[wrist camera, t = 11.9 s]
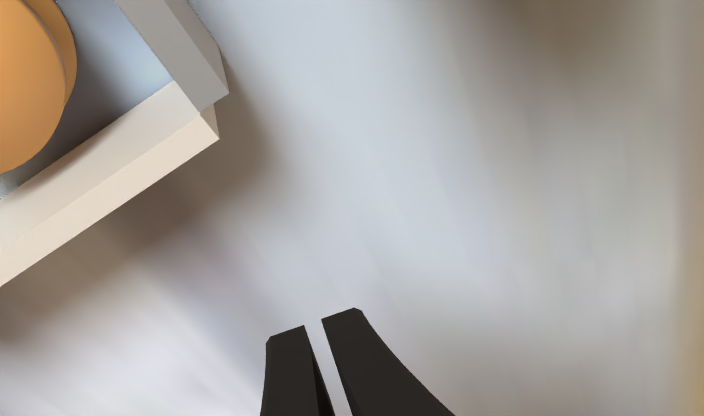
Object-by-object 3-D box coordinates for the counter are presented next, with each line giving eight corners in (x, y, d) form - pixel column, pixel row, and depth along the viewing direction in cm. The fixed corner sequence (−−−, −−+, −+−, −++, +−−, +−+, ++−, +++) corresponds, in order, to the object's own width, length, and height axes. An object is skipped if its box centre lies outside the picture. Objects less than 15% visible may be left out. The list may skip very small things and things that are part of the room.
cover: (-117, 266, 17) (-188, 365, 14) (188, 56, 16) (193, 106, 13) (-80, 291, 18) (-139, 392, 14) (216, 90, 17) (226, 146, 14)
